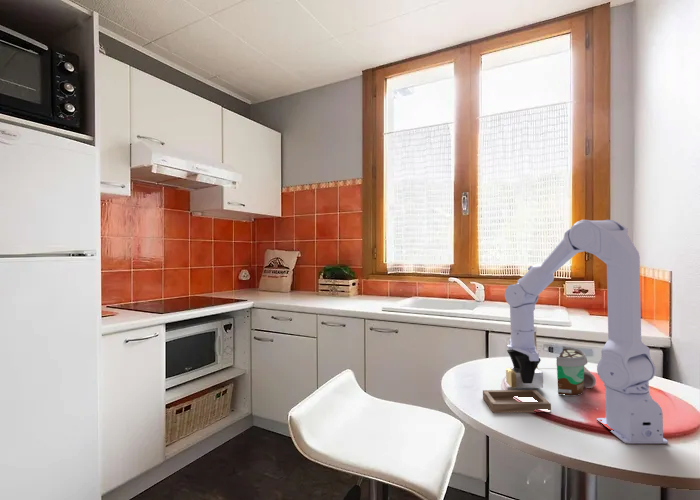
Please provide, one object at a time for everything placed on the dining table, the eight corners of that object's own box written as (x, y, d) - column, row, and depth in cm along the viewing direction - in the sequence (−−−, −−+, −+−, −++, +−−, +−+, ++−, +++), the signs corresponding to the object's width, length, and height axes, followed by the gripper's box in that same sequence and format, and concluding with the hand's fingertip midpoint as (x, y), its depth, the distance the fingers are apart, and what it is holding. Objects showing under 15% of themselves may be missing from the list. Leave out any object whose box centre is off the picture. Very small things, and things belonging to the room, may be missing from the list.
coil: (597, 373, 96) (575, 353, 113) (577, 371, 97) (558, 351, 114) (595, 391, 96) (574, 368, 113) (575, 388, 97) (557, 365, 114)
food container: (586, 402, 88) (585, 361, 88) (557, 396, 92) (556, 357, 92) (590, 385, 98) (589, 348, 98) (563, 381, 102) (562, 345, 102)
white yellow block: (543, 387, 96) (542, 372, 96) (511, 388, 96) (511, 373, 96) (536, 382, 100) (535, 367, 100) (506, 382, 100) (505, 367, 100)
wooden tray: (551, 412, 84) (550, 403, 84) (493, 412, 85) (492, 404, 85) (535, 397, 92) (535, 389, 92) (482, 398, 93) (482, 390, 93)
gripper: (497, 323, 105) (499, 370, 105) (517, 336, 91) (519, 390, 91) (523, 323, 105) (524, 370, 105) (546, 335, 90) (548, 390, 91)
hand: (523, 379), depth 98 cm, fingers closed on white yellow block, 4 cm apart
